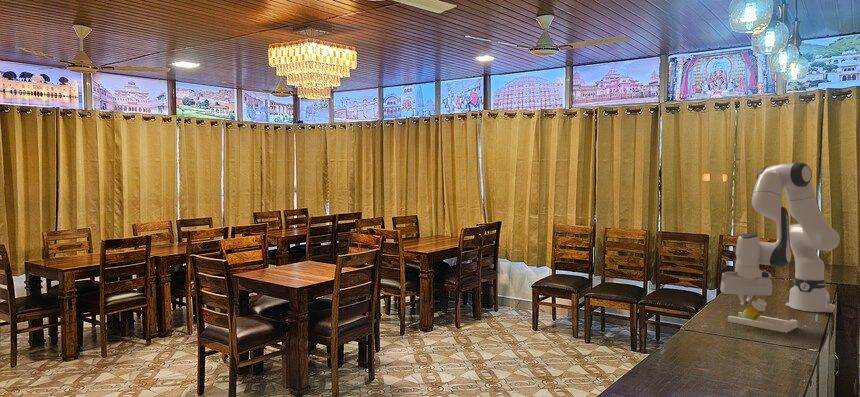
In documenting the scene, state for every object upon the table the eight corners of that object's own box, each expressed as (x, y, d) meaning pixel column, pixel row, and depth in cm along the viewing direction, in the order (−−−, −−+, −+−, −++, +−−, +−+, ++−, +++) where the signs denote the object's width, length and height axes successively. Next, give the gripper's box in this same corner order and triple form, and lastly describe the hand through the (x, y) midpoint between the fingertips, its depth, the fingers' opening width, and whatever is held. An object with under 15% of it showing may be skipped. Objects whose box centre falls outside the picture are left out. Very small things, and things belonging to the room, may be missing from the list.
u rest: (739, 316, 245) (739, 310, 245) (797, 327, 228) (797, 320, 228) (727, 321, 237) (727, 314, 237) (786, 332, 220) (786, 325, 220)
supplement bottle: (749, 324, 233) (764, 308, 228) (738, 314, 237) (753, 298, 231) (756, 321, 237) (771, 305, 231) (745, 311, 240) (759, 295, 234)
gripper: (726, 272, 233) (724, 305, 233) (775, 274, 233) (773, 307, 233) (718, 270, 239) (716, 302, 239) (766, 272, 239) (764, 304, 239)
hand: (745, 304), depth 236 cm, fingers closed
